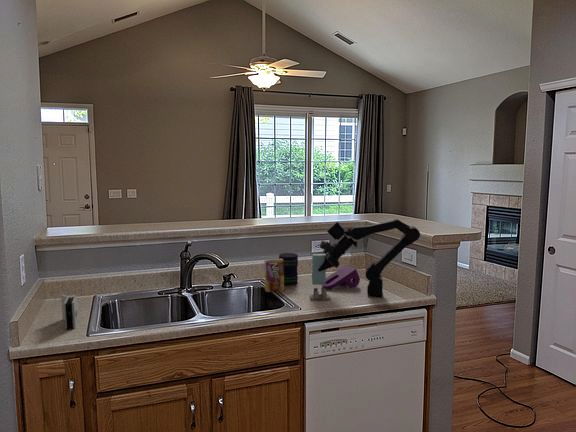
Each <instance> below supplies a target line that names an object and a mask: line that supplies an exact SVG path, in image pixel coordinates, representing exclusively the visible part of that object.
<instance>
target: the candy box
mask: <svg viewBox="0 0 576 432" xmlns="http://www.w3.org/2000/svg"><path fill="white" fill-rule="evenodd" d="M264 291H265V292H266V293H273V292H284V291H285V286H284V260H283V259H279V258H271V259H264Z"/></svg>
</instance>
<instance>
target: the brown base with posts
mask: <svg viewBox="0 0 576 432" xmlns="http://www.w3.org/2000/svg"><path fill="white" fill-rule="evenodd" d="M327 293H328V291H326V289H325V288H323V287H321V293H320V291H319V288H318V287H313V293H312V294H311V293H310V294H309V299H310V301H311V302H313V301H314V302H315V301H316V302H317V301H318V302H319V301H321V302H323V301H324V302H325V301H326V302H327V301H331V300H332V299H331V296H330V294H329V293H328V294H327Z"/></svg>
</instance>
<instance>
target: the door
mask: <svg viewBox="0 0 576 432" xmlns="http://www.w3.org/2000/svg"><path fill="white" fill-rule="evenodd" d="M325 257H326V255H325V253H312V258H311V264H312V266H311V267H312V269H311V270H312V271H311V279H312V280H311V284H312V286H313V285H316V286H320V285H321V286H322V285H326V278H327V274H326V273H327V269H325V270H323V271H320V272H319V271H318V269H319V268H320V266H321V265H322V264H323V262H324V260H325Z"/></svg>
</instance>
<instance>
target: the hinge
mask: <svg viewBox="0 0 576 432" xmlns="http://www.w3.org/2000/svg"><path fill="white" fill-rule="evenodd" d="M60 297H61V299H60V300H61V313H62V317H61V318H62V321H64V326H65V330H66V331H69V330H74V329H76V328H77V325H78V323H79V303H78V297H77V295H75V294H73V295H72V294H71V295H67V294H61V295H60Z"/></svg>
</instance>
